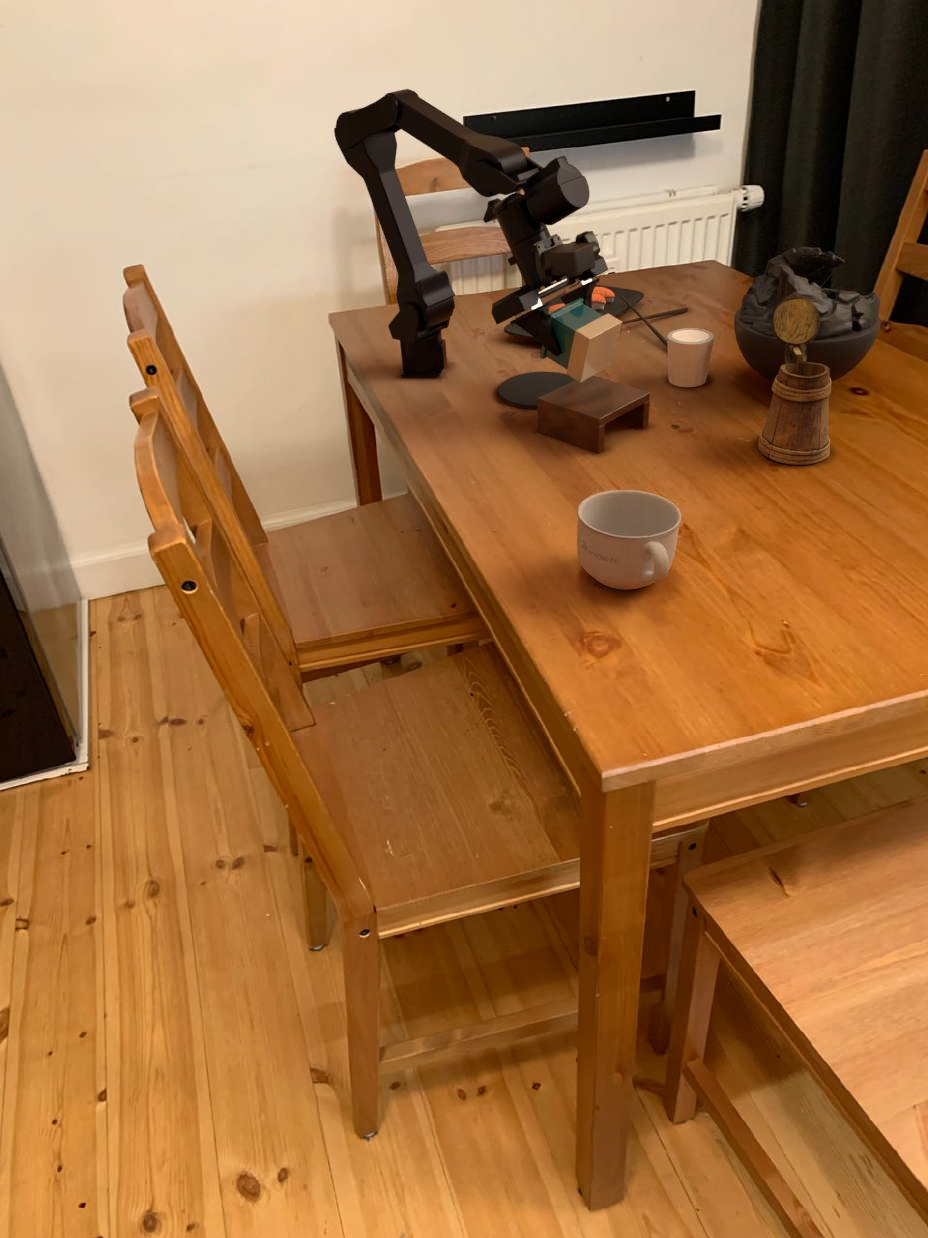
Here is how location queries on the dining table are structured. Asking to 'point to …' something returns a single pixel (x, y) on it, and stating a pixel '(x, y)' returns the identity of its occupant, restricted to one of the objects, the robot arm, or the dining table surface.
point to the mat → (531, 387)
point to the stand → (590, 411)
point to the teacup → (627, 537)
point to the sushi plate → (604, 308)
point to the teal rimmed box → (583, 339)
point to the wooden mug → (797, 390)
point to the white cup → (689, 356)
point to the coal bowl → (842, 313)
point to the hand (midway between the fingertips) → (575, 346)
